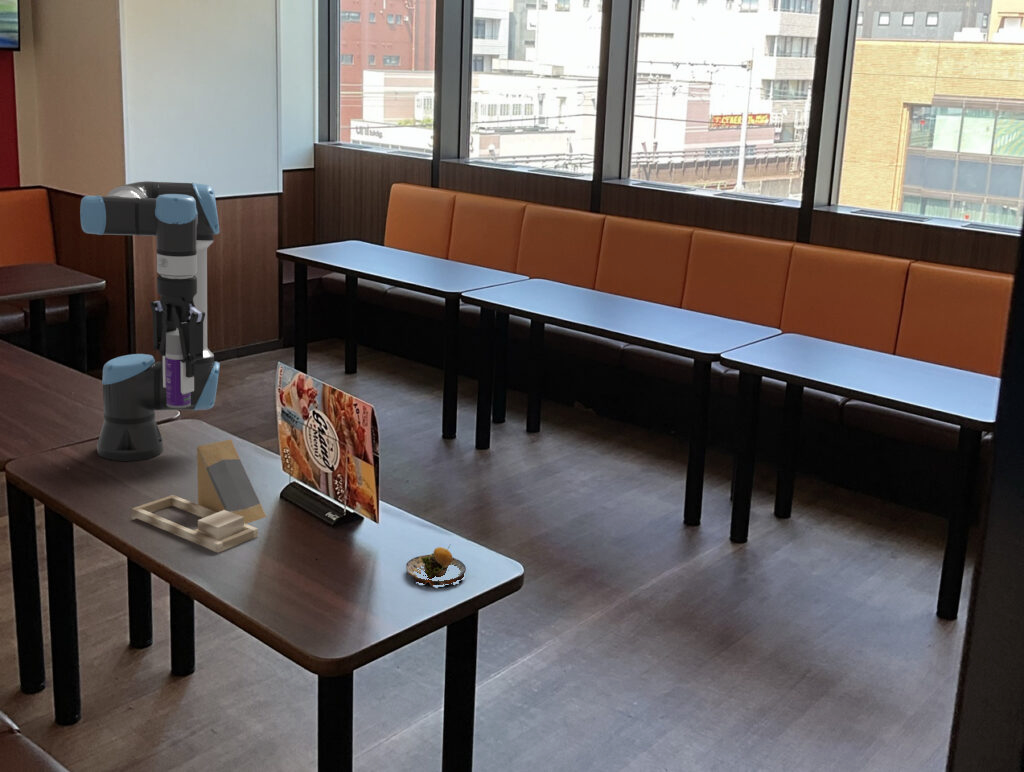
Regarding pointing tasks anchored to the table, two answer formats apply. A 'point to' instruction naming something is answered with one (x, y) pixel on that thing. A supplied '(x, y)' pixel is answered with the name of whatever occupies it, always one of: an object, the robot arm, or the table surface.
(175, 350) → the container
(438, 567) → the plate of food
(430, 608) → the table surface
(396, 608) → the table surface
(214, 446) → the sandwich container
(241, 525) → the offcut top
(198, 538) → the frame
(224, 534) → the block
